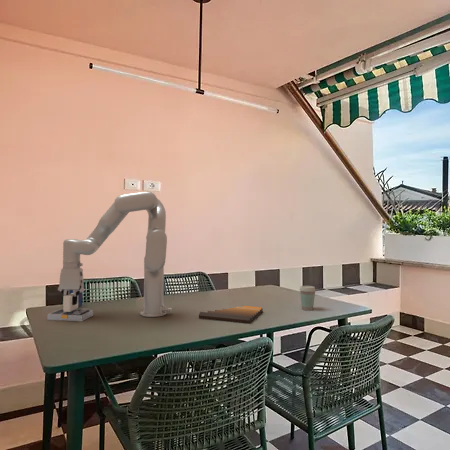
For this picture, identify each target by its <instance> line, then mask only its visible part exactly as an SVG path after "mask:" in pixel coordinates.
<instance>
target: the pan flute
mask: <svg viewBox="0 0 450 450" xmlns="http://www.w3.org/2000/svg"><path fill="white" fill-rule="evenodd" d="M263 309H264V308H263V307H261V306H250V305H242V306H236V307H229V308H221V309H214V310H207V312H205V311H199V313H198V319H201V320H212V321H220V322H221V321H222V322H230V323H241V324H249V325H250V324H251V323H252V322H253V321H255V319H257V318H258V317H259V316H260V315H261V314H262V313H263Z"/></svg>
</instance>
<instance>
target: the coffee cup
mask: <svg viewBox="0 0 450 450" xmlns="http://www.w3.org/2000/svg"><path fill="white" fill-rule="evenodd" d="M299 291H300V292H299V294H300V303H301V304H300V305H301V310H303V311H313V310H314V304H315V297H316V291H317V290H316V288H315V286H312V285H301V286H300V287H299Z"/></svg>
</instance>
